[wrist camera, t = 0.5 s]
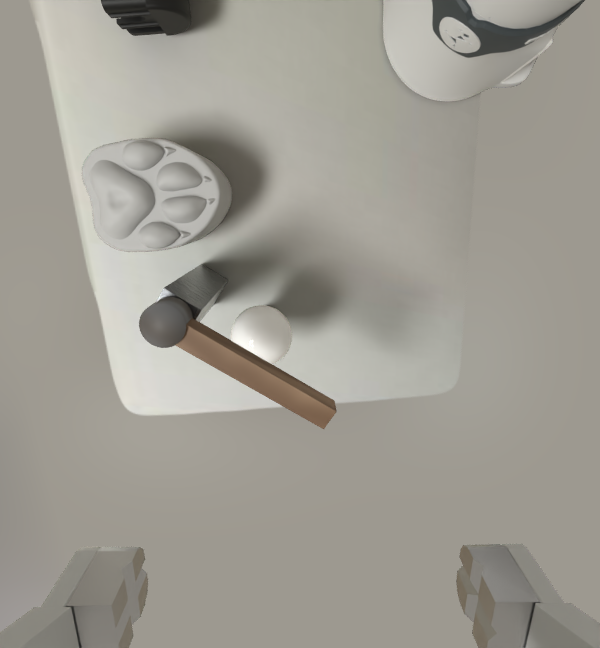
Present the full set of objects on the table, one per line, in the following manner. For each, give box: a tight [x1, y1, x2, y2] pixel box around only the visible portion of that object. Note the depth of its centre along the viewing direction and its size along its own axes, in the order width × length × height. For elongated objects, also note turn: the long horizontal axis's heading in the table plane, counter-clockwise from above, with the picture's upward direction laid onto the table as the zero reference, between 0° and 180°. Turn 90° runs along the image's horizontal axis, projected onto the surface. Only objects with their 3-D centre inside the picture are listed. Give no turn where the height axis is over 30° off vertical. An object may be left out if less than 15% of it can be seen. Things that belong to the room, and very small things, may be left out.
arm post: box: [156, 264, 228, 322], centre depth 42 cm, size 4×4×14 cm
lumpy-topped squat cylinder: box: [82, 138, 232, 252], centre depth 42 cm, size 10×13×9 cm
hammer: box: [139, 297, 336, 429], centre depth 34 cm, size 4×18×3 cm, turn 57°
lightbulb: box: [231, 305, 292, 364], centre depth 45 cm, size 6×6×11 cm
